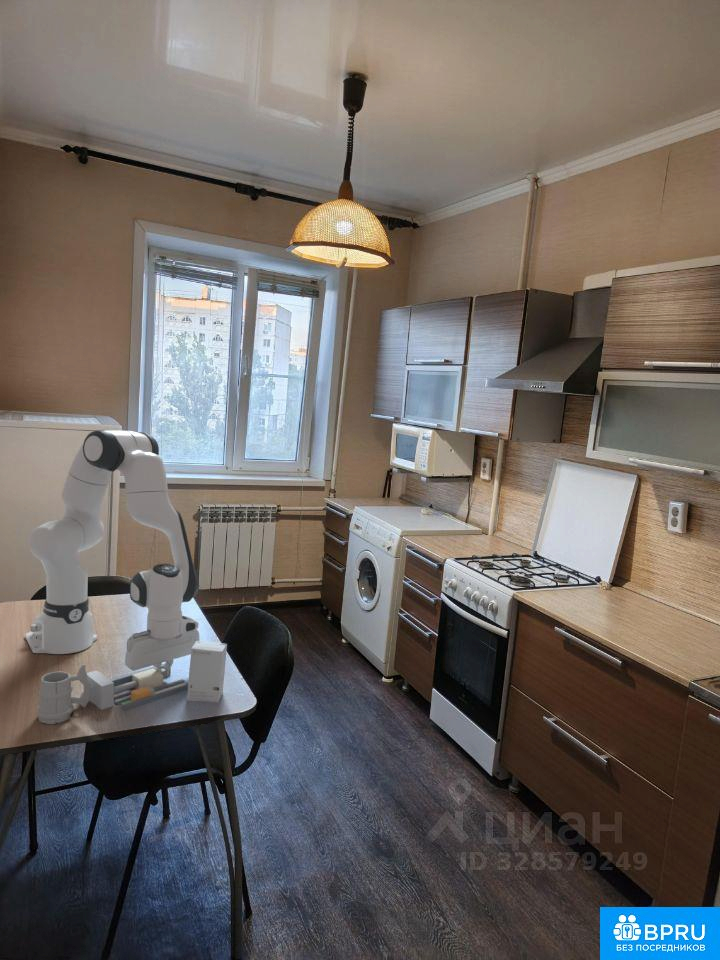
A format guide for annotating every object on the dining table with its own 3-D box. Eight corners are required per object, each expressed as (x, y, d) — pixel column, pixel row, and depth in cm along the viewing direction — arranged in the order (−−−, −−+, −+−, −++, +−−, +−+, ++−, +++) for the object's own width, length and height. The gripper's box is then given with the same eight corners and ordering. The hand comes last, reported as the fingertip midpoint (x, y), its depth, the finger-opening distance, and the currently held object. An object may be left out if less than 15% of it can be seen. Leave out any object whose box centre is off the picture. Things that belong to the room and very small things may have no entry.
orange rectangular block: (130, 700, 156) (130, 691, 156) (145, 695, 159) (145, 686, 159) (135, 704, 154) (136, 694, 154) (150, 699, 157) (151, 690, 157)
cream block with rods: (109, 692, 159) (110, 680, 159) (153, 679, 168) (153, 668, 168) (128, 706, 153) (128, 694, 153) (172, 691, 162) (172, 680, 162)
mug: (35, 712, 150) (36, 664, 148) (89, 703, 156) (90, 656, 154) (38, 727, 143) (38, 677, 142) (94, 717, 149) (95, 669, 148)
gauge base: (77, 695, 159) (77, 668, 158) (169, 668, 179) (170, 644, 178) (109, 721, 148) (109, 692, 147) (203, 689, 167) (204, 663, 166)
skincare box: (186, 705, 159) (188, 648, 157) (192, 694, 165) (194, 639, 163) (219, 707, 159) (222, 650, 157) (224, 696, 165) (227, 641, 163)
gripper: (133, 639, 156) (132, 692, 158) (203, 621, 171) (201, 670, 173) (121, 631, 160) (119, 683, 162) (190, 615, 175) (188, 662, 177)
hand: (162, 676), depth 167 cm, fingers closed
